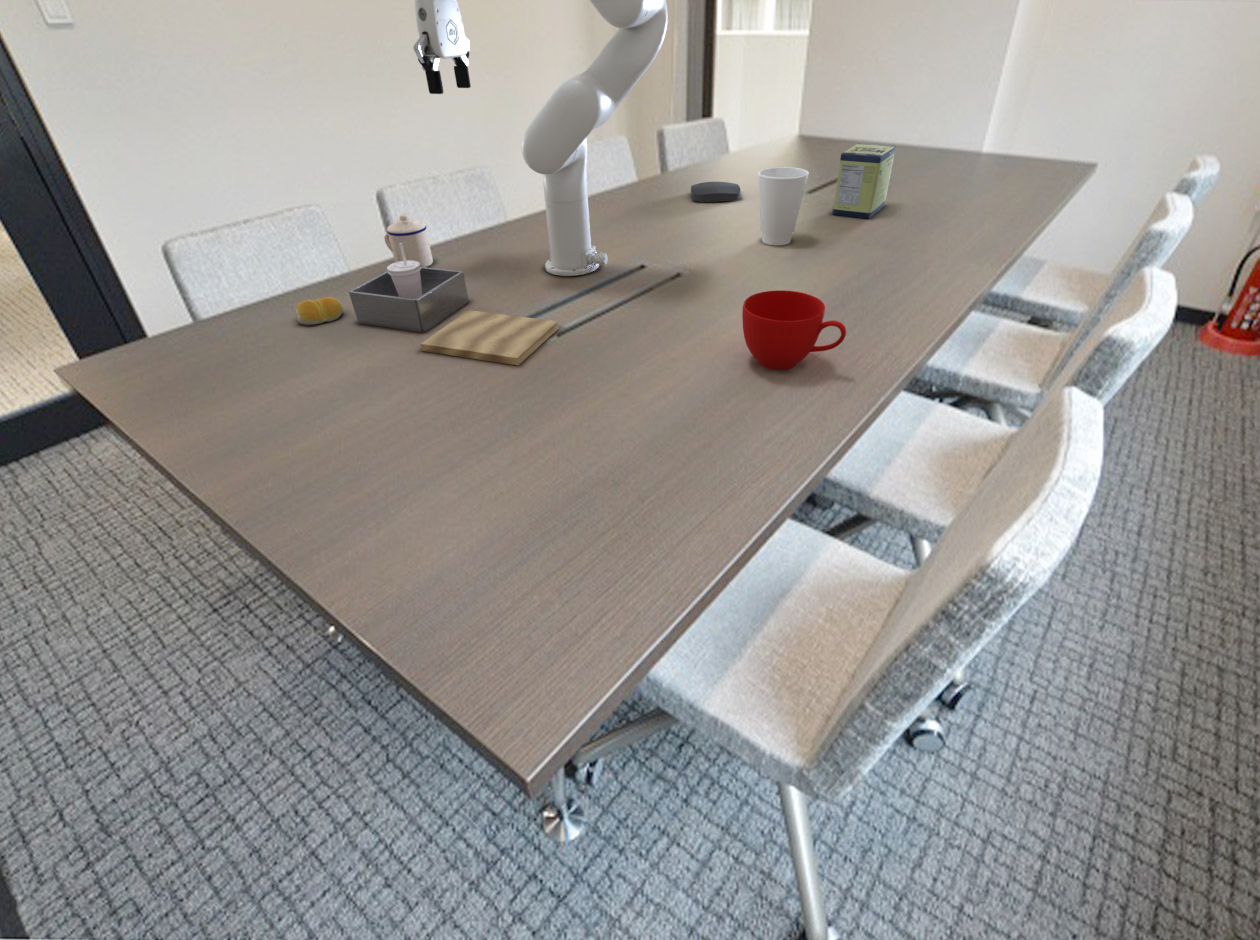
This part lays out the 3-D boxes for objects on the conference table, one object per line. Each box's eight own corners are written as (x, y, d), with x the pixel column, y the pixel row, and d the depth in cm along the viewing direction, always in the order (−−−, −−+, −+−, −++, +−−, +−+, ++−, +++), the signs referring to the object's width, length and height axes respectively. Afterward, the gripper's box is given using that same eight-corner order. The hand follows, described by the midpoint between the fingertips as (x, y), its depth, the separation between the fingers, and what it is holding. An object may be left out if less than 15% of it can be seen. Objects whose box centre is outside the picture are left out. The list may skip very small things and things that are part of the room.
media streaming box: (741, 201, 191) (742, 191, 189) (692, 203, 191) (693, 192, 190) (735, 189, 203) (736, 179, 201) (689, 191, 203) (690, 181, 201)
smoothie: (422, 319, 129) (405, 249, 120) (393, 317, 130) (374, 248, 121) (436, 306, 134) (420, 238, 125) (408, 305, 135) (390, 237, 126)
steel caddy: (469, 301, 135) (464, 271, 131) (424, 332, 123) (416, 300, 119) (406, 293, 140) (399, 264, 136) (357, 323, 128) (347, 291, 124)
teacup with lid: (441, 260, 157) (431, 211, 150) (417, 272, 151) (405, 221, 144) (403, 255, 162) (391, 207, 155) (378, 267, 155) (364, 217, 148)
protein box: (885, 205, 182) (896, 145, 173) (869, 219, 172) (881, 156, 163) (848, 201, 187) (858, 142, 178) (831, 215, 177) (840, 153, 167)
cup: (747, 246, 158) (752, 176, 148) (758, 232, 166) (763, 165, 157) (795, 250, 154) (804, 179, 144) (804, 235, 163) (812, 167, 153)
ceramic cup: (825, 392, 99) (835, 332, 93) (726, 368, 107) (729, 312, 101) (850, 358, 108) (860, 302, 102) (756, 339, 116) (761, 285, 110)
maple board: (558, 328, 122) (558, 321, 122) (518, 365, 111) (517, 358, 110) (469, 316, 129) (468, 309, 128) (422, 351, 117) (420, 343, 116)
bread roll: (348, 318, 130) (342, 299, 128) (302, 329, 127) (295, 310, 124) (339, 305, 136) (333, 287, 134) (294, 316, 132) (288, 297, 130)
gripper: (421, -12, 117) (440, 96, 127) (474, -13, 129) (488, 85, 139) (388, -10, 119) (410, 95, 129) (443, -11, 132) (459, 85, 142)
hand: (450, 90), depth 134 cm, fingers open, 9 cm apart
